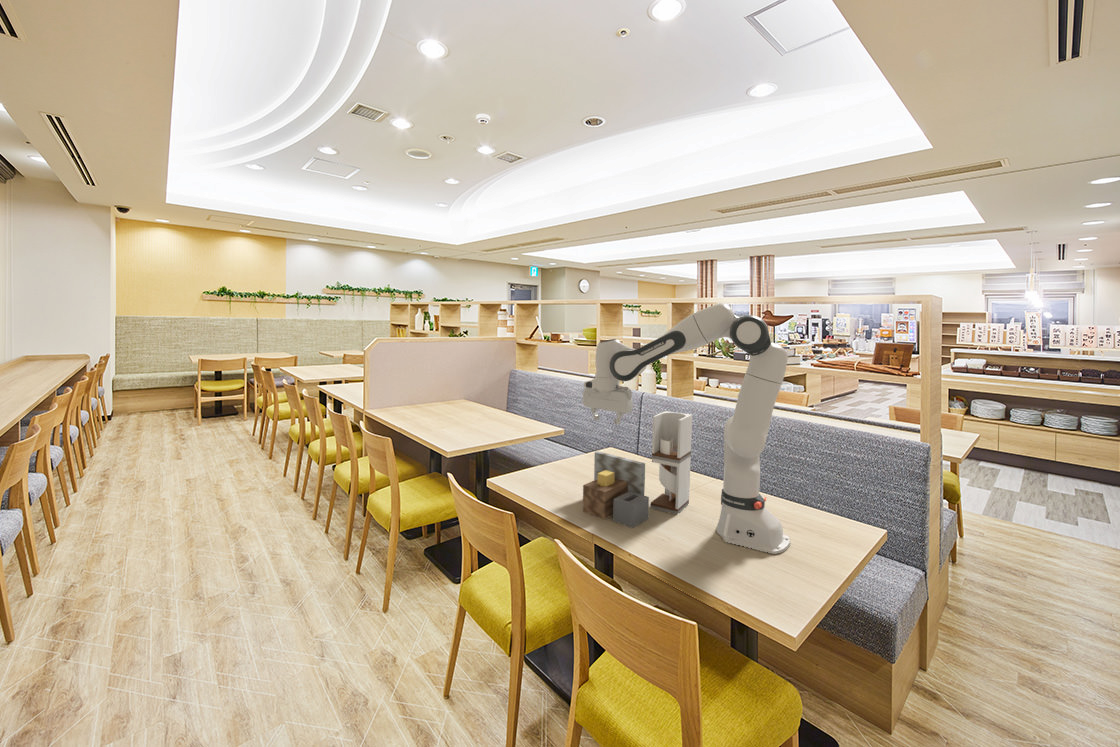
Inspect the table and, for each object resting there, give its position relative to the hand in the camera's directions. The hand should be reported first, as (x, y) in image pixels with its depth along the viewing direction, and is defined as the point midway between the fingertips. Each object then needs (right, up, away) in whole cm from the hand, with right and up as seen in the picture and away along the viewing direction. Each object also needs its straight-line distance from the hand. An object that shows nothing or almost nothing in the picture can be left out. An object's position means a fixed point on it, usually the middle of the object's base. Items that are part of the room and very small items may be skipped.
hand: (606, 421), depth 172 cm
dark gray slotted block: (+8, -34, -5) cm, 35 cm away
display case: (+25, -33, +7) cm, 42 cm away
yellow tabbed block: (0, -27, +3) cm, 27 cm away
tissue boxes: (0, -33, +4) cm, 33 cm away
